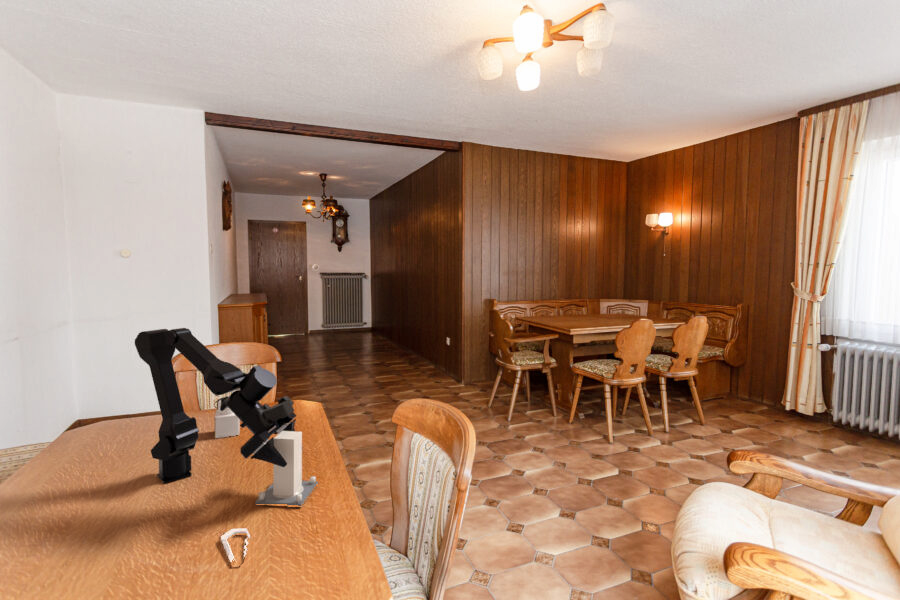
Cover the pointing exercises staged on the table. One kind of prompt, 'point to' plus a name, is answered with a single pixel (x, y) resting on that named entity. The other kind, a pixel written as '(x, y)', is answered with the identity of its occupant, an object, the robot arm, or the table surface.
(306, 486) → the locating plate
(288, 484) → the block
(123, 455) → the table surface
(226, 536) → the white bent piece
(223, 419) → the medicine bottle
